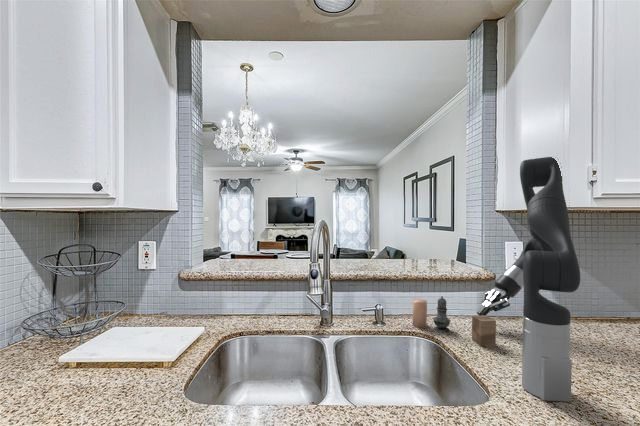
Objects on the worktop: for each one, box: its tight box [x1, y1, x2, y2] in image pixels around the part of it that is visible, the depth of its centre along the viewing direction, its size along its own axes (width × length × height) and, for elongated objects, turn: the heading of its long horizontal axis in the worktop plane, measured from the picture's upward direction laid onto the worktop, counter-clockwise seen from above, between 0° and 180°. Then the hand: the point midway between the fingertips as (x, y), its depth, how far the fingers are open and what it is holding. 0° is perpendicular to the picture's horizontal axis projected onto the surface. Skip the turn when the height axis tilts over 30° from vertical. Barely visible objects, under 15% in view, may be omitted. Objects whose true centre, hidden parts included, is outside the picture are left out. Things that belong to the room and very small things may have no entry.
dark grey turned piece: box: [432, 295, 452, 333], centre depth 116 cm, size 6×6×12 cm
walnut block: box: [471, 314, 497, 347], centre depth 105 cm, size 5×5×8 cm
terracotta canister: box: [412, 298, 428, 329], centre depth 120 cm, size 5×5×9 cm
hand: (479, 315), depth 117 cm, fingers closed
